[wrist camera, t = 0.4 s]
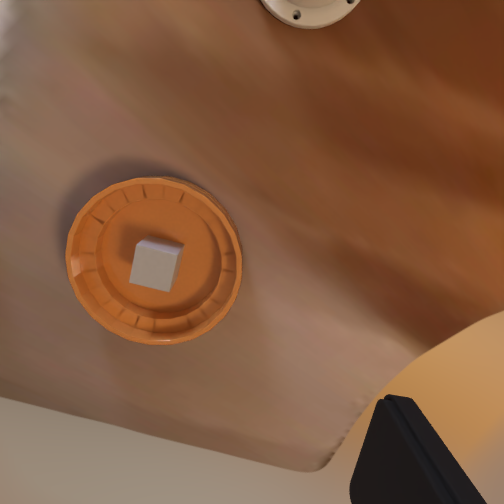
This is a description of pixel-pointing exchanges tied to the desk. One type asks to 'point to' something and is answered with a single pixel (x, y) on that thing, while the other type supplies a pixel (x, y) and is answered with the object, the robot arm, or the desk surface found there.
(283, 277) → the desk surface
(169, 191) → the bowl
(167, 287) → the block
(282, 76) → the desk surface
